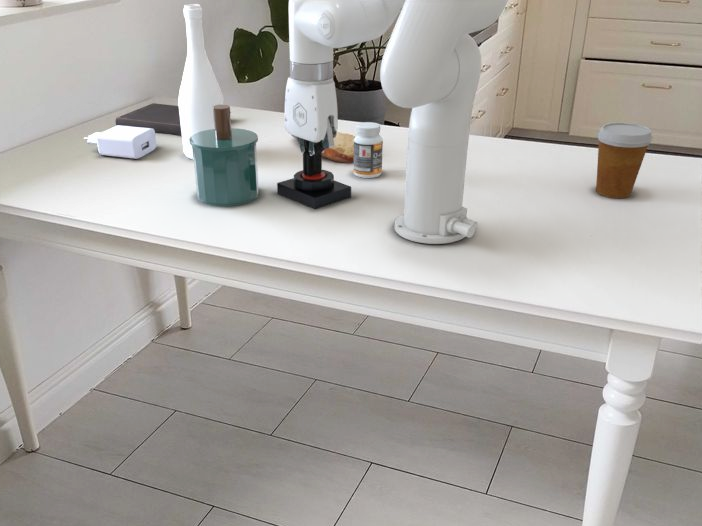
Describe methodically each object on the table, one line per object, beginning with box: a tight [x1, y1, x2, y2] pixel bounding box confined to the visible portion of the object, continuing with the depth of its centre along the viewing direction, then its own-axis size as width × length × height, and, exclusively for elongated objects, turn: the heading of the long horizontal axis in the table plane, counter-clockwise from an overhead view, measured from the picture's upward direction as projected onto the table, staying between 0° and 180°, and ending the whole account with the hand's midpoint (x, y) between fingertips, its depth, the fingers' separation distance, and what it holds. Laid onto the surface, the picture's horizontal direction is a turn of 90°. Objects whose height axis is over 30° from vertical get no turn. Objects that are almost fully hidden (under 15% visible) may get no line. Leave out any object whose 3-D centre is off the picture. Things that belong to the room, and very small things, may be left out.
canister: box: [192, 142, 260, 208], centre depth 140 cm, size 11×11×10 cm
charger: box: [83, 125, 157, 160], centre depth 166 cm, size 5×9×15 cm
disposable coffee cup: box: [595, 122, 654, 199], centre depth 139 cm, size 10×10×12 cm
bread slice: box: [295, 131, 357, 164], centre depth 166 cm, size 18×18×4 cm
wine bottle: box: [177, 3, 225, 161], centre depth 156 cm, size 10×10×30 cm
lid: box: [189, 104, 259, 151], centre depth 135 cm, size 12×12×7 cm
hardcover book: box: [115, 102, 232, 136], centre depth 184 cm, size 16×23×2 cm
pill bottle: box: [353, 121, 384, 179], centre depth 150 cm, size 6×6×10 cm
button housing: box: [276, 169, 352, 210], centre depth 141 cm, size 11×9×4 cm
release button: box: [302, 172, 326, 180], centre depth 140 cm, size 4×4×2 cm
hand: (312, 173), depth 140 cm, fingers closed
